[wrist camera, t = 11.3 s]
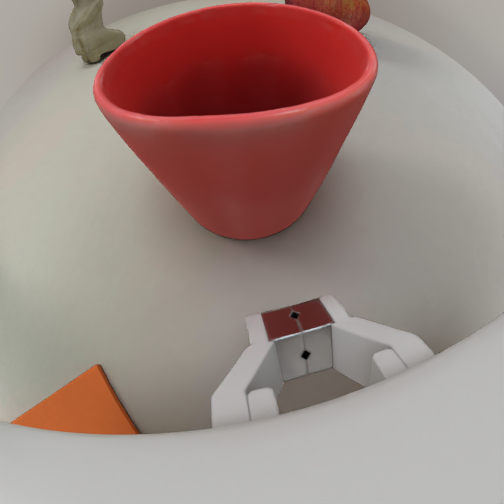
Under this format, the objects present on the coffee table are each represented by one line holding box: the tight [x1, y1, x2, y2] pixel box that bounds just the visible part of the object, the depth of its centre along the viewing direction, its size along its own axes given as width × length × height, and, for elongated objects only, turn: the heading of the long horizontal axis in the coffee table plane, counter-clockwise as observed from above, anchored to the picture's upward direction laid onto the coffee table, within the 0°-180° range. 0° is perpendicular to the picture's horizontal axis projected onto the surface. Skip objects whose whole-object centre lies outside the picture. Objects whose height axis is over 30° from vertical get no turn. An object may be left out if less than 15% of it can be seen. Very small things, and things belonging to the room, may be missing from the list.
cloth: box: [11, 364, 140, 435], centre depth 9 cm, size 13×18×1 cm
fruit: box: [285, 0, 370, 31], centre depth 22 cm, size 11×10×10 cm
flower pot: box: [93, 2, 378, 240], centre depth 12 cm, size 11×11×10 cm
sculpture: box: [69, 0, 125, 63], centre depth 22 cm, size 6×7×15 cm
